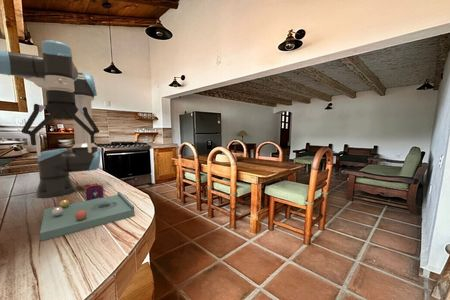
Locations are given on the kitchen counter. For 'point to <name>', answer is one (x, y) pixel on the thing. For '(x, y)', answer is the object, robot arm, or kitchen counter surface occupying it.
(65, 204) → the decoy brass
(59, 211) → the steel ball
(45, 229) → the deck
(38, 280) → the kitchen counter surface
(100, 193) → the mug
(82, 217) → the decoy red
